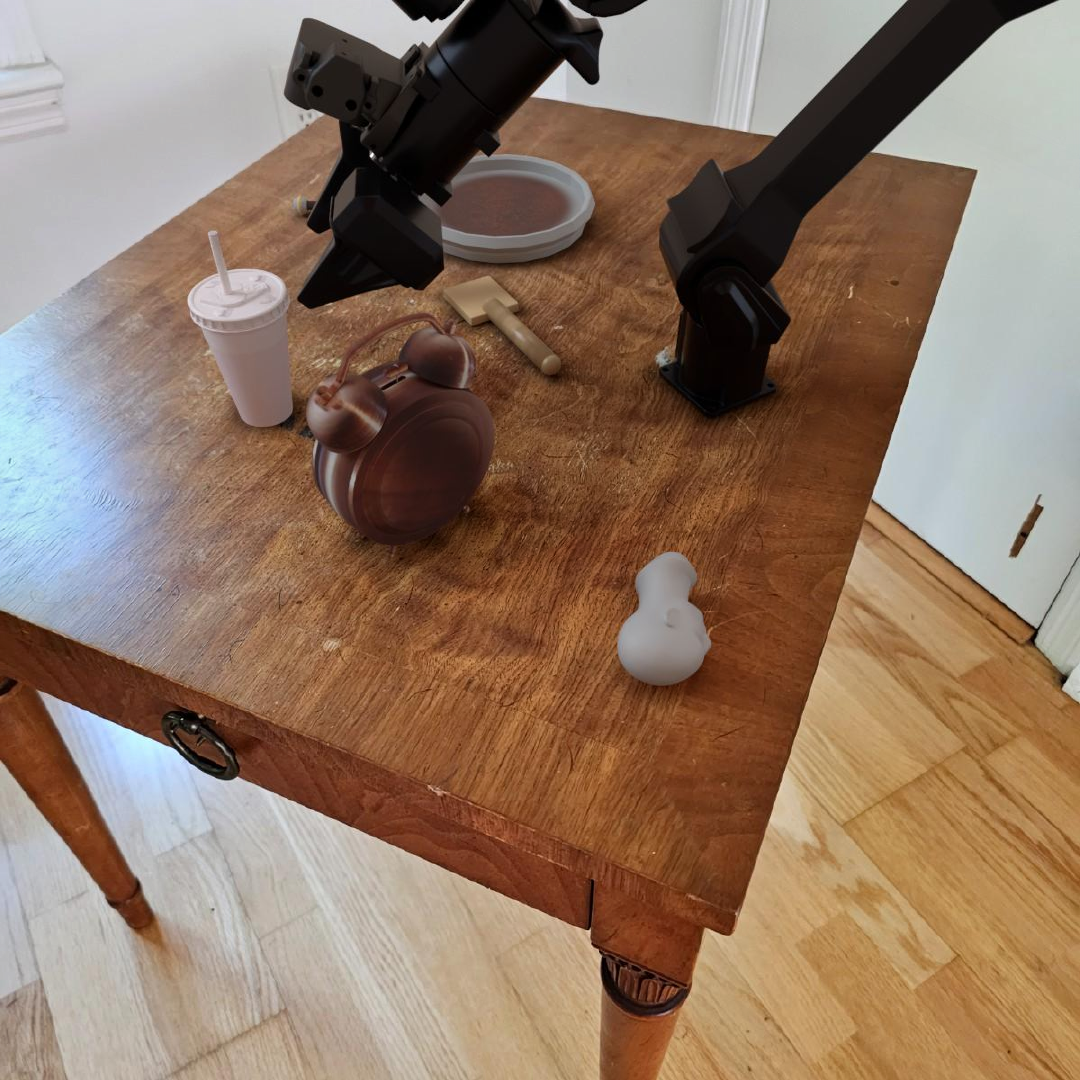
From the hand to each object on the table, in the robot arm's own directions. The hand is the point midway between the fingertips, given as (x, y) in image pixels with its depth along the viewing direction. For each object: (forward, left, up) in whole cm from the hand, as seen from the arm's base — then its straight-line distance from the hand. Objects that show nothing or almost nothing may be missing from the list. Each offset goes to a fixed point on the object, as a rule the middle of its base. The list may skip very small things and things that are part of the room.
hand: (307, 264), depth 61 cm
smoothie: (+2, +4, -12) cm, 13 cm away
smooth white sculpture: (-30, -8, -12) cm, 33 cm away
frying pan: (+21, -20, -12) cm, 31 cm away
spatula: (+2, -16, -11) cm, 20 cm away
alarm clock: (-14, 0, -12) cm, 18 cm away
